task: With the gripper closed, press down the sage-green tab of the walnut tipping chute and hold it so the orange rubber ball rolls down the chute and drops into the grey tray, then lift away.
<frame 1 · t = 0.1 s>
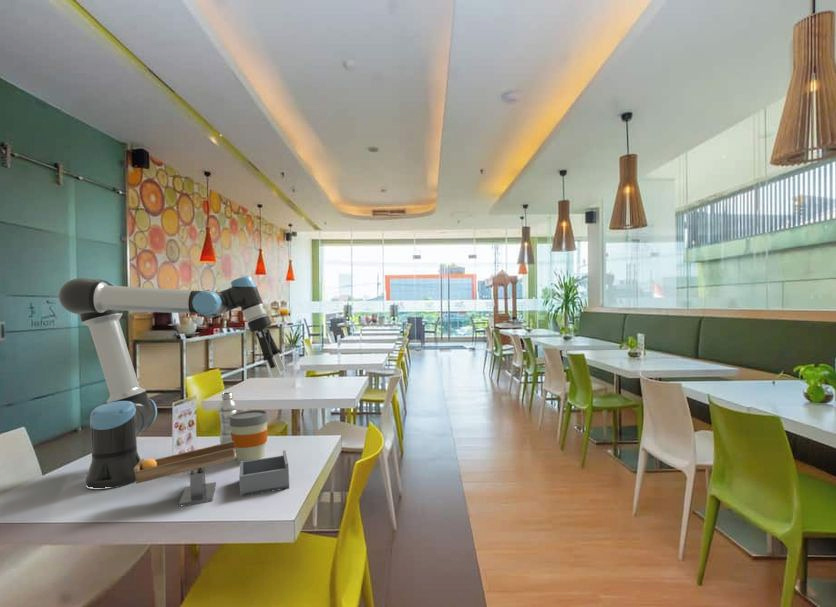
hand: (279, 373, 163), 28 cm above the table, tool tilted 20°, fingers open, 13 cm apart
stand: (198, 495, 127), on the table
grey tray: (264, 483, 132), on the table
ball: (149, 465, 123), point 10 cm above the table, tilted 10°, touching chute
reusable coffee cup: (250, 457, 157), on the table
chute: (190, 457, 129), point 10 cm above the table, hinge at 6.1°, touching ball
plastic bottle: (229, 446, 171), on the table
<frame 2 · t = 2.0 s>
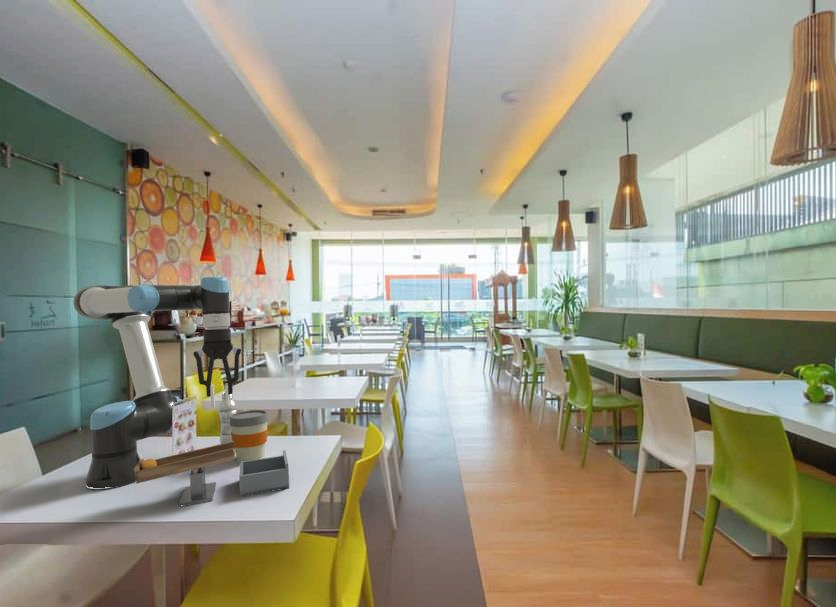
hand: (220, 406, 136), 23 cm above the table, tool pointing down, fingers open, 3 cm apart
nothing on the table moved.
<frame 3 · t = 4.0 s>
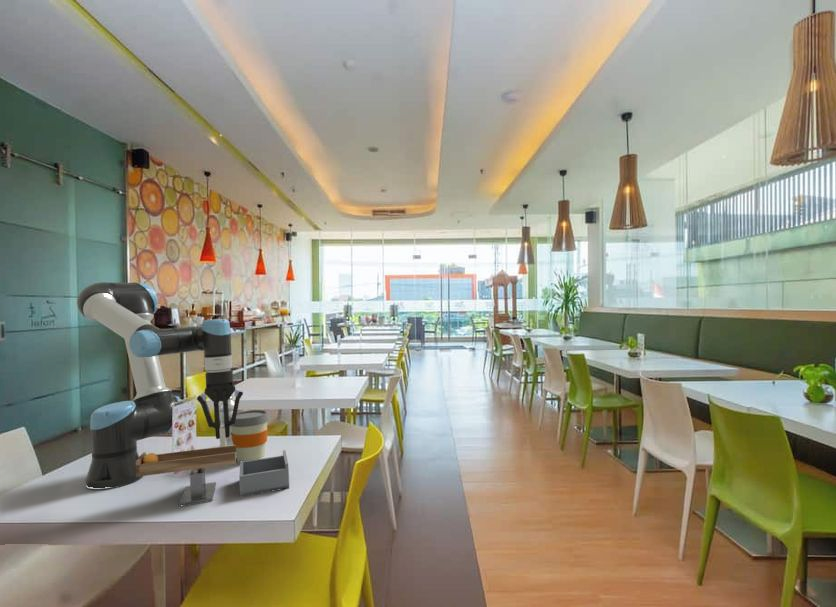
hand: (223, 448, 136), 10 cm above the table, tool pointing down, fingers closed
ball: (150, 460, 123), point 12 cm above the table, touching chute
chute: (190, 456, 129), point 10 cm above the table, hinge at -1.1°, touching ball, gripper
everything else where it was.
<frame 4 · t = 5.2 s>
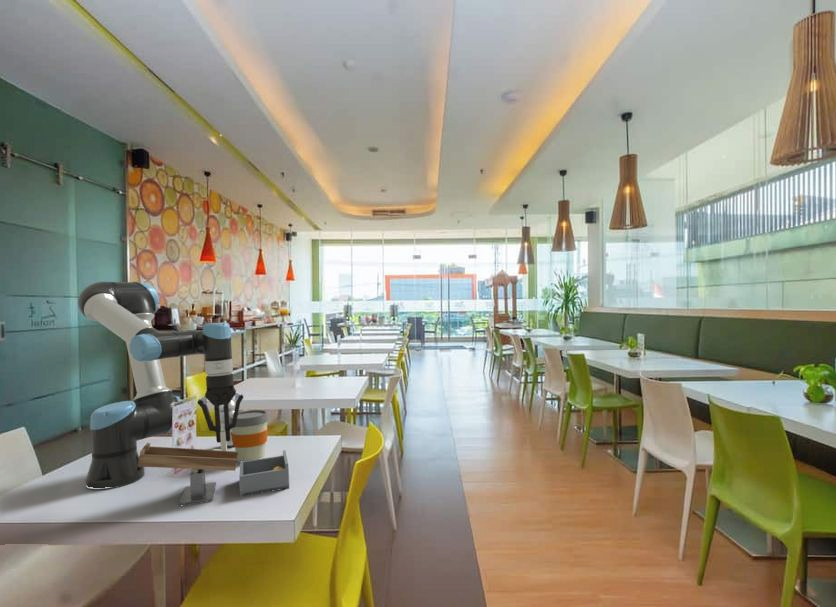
hand: (224, 452, 136), 9 cm above the table, tool pointing down, fingers closed
ball: (278, 472, 134), point 3 cm above the table, tilted 9°, touching grey tray
chute: (192, 454, 129), point 10 cm above the table, hinge at -12.1°, touching gripper
everything else where it was.
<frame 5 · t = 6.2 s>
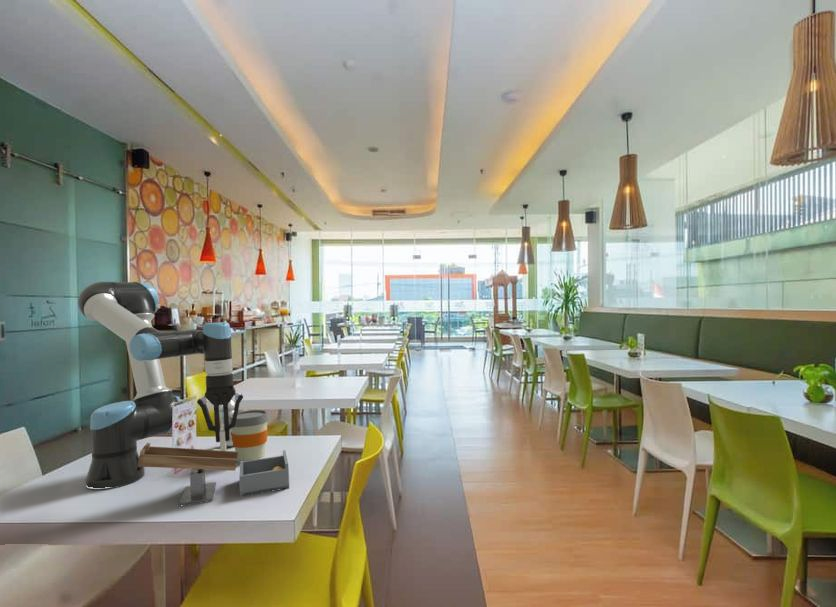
hand: (223, 452, 136), 9 cm above the table, tool pointing down, fingers closed
chute: (192, 454, 129), point 10 cm above the table, hinge at -12.1°
everything else where it was.
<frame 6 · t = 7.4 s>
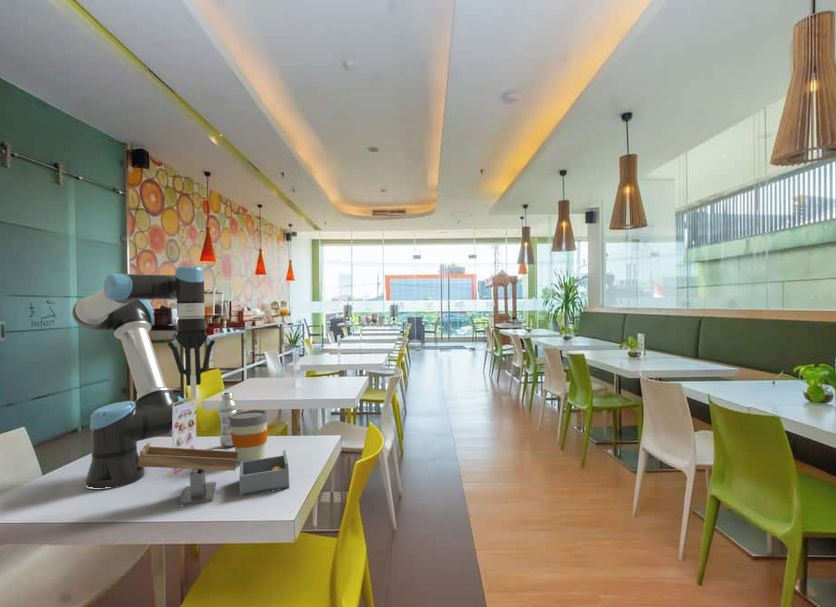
hand: (194, 395, 137), 26 cm above the table, tool pointing down, fingers closed
nothing on the table moved.
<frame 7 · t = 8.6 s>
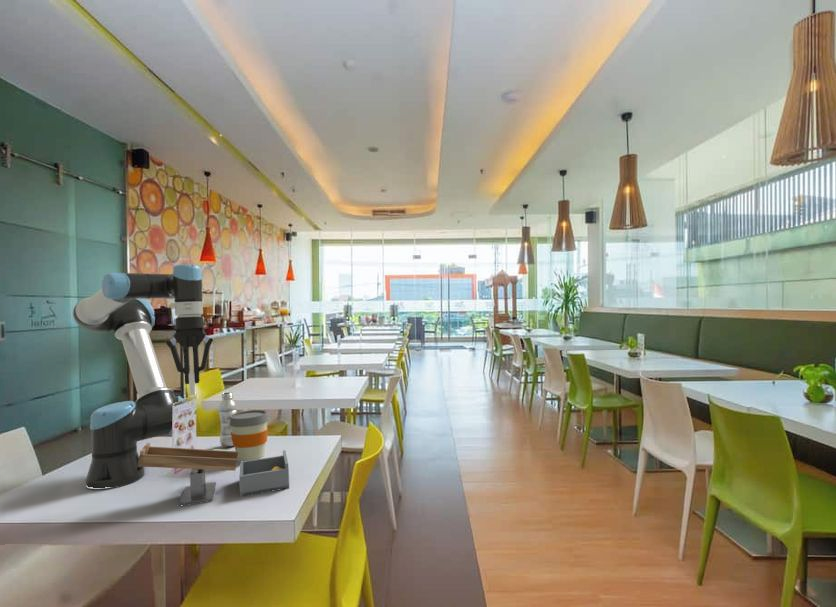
hand: (192, 394, 136), 26 cm above the table, tool pointing down, fingers closed
nothing on the table moved.
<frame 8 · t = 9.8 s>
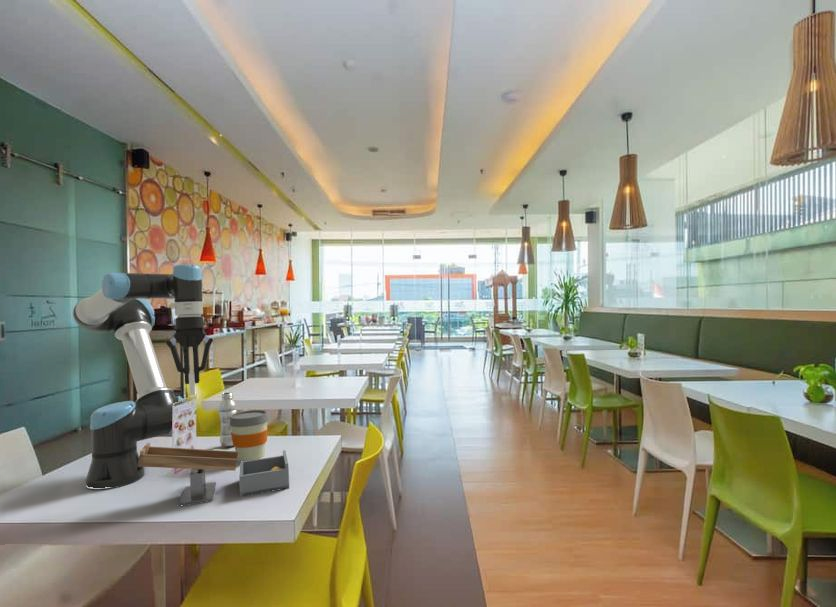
hand: (192, 394, 136), 26 cm above the table, tool pointing down, fingers closed
nothing on the table moved.
at the end: ball 3.3 cm from the grey tray (horizontally); ball point 2.6 cm above the table; chute at -12° (first picture: +6°) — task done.
